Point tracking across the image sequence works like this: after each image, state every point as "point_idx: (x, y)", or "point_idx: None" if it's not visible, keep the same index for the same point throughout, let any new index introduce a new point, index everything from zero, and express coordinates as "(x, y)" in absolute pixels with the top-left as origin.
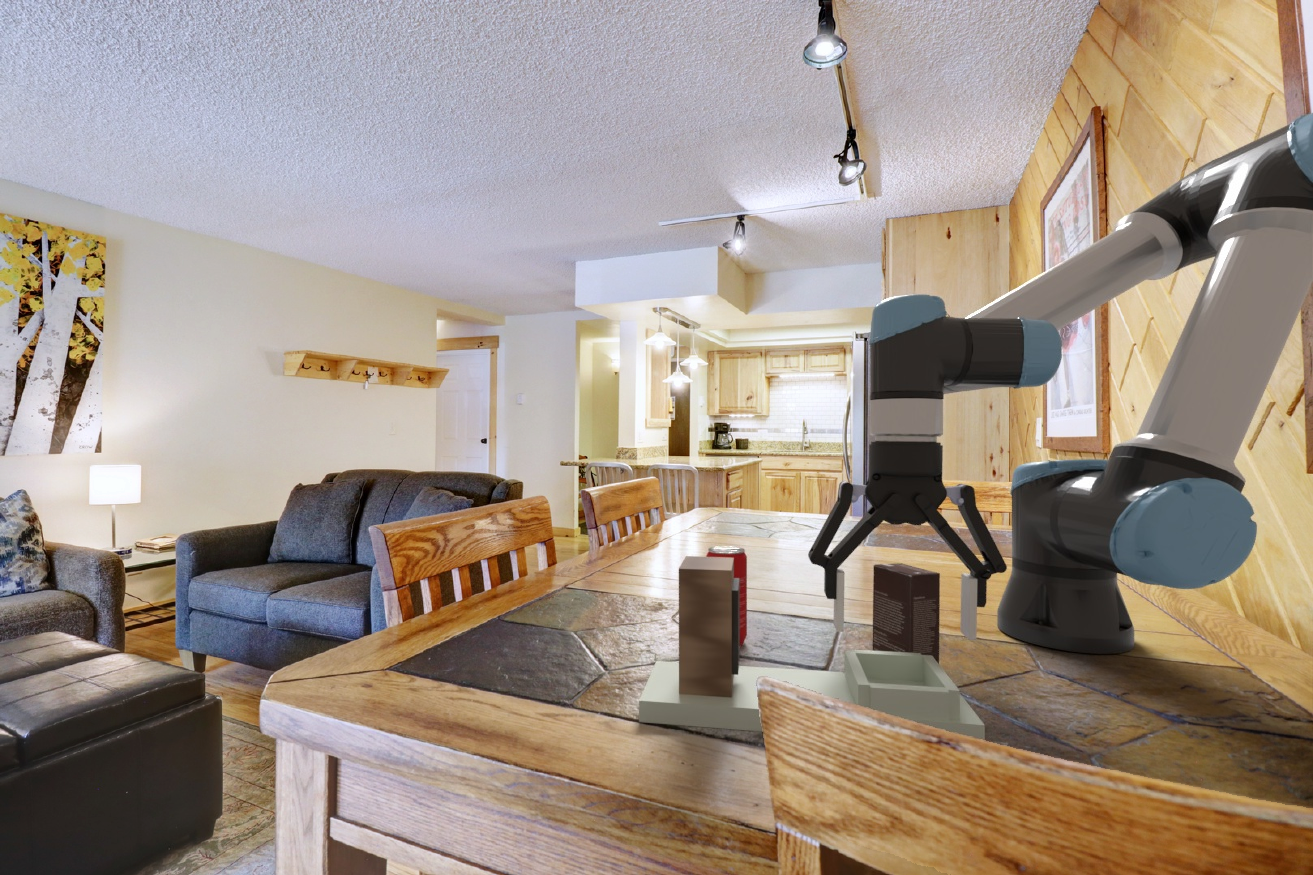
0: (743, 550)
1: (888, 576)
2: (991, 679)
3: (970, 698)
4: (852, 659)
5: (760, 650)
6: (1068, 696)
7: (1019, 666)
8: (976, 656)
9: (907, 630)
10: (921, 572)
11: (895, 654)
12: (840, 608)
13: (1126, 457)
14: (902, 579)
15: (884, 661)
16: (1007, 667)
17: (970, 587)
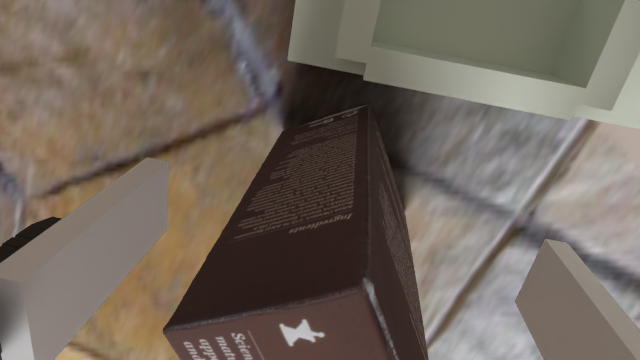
0: None
1: None
2: (149, 154)
3: (241, 52)
4: (635, 25)
5: None
6: (13, 56)
7: (62, 217)
8: (133, 271)
9: (374, 164)
10: (269, 340)
11: (453, 69)
12: (594, 291)
13: None
14: (388, 312)
15: (485, 66)
16: None
17: (51, 255)
